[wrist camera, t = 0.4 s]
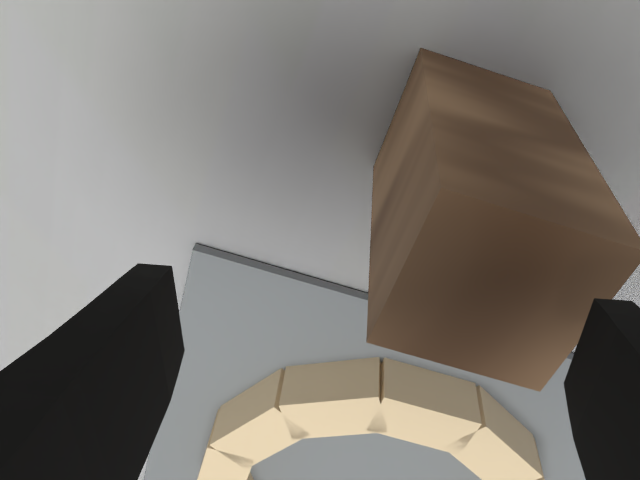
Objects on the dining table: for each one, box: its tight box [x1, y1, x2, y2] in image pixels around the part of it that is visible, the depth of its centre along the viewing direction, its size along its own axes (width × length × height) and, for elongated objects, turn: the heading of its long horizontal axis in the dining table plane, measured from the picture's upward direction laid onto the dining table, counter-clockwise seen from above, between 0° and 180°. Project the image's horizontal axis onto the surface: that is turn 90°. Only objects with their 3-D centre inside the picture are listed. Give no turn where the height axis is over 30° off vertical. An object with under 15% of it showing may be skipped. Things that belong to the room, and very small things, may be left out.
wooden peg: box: [366, 48, 640, 392], centre depth 15 cm, size 4×4×8 cm
